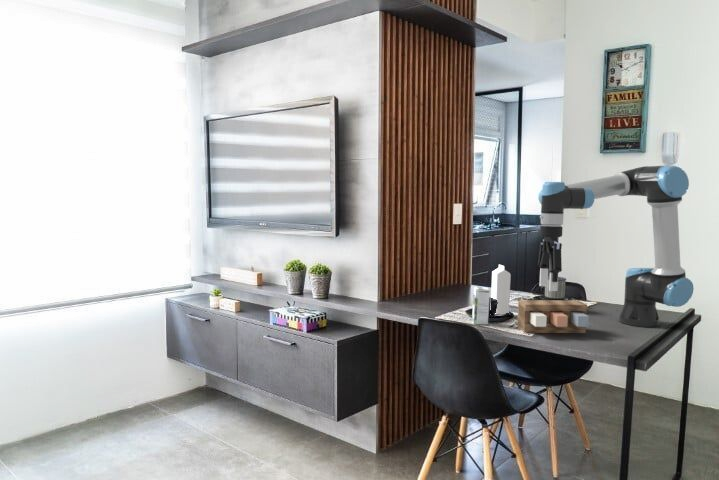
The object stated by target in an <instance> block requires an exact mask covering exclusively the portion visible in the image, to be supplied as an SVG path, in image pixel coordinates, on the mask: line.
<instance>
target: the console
mask: <svg viewBox="0 0 719 480" xmlns="http://www.w3.org/2000/svg"><path fill="white" fill-rule="evenodd" d="M529 311H539V312H541V313H542V314H544V315H546V316H547V320H546V327H535V326H534V325H533V324H531V323H530V322H529ZM550 311H560V312H561V313H563V314H565V315H567V316H568V322H567V327H556V326H555V325H553V324H552V323H550V322H549V315H550ZM570 311H580V312H582V313H584V314H585V315H587V316H588V304H586V303H585V302H582V301H581V300H576V299H574V300H570V299H569V300H567V299H566V300H565V299H564V300H545V299H541V300H540V299H538V300H537V299H535V300H527V299H518V302H517V321H516V322H517V323H516V324H517V325H516V326H517V327H518V328H517V327H516V328H517V329H518V330H520V329H521V330H522V331H523V333H524V334H526V333H525V332H534V333H533V334H586V332H587V331H586V330H587V329H586V328H587V327H577V326H576V325H574V324H572V323H570ZM521 330H520V331H521ZM522 331H521V332H522Z"/></svg>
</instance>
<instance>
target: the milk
mask: <svg viewBox="0 0 719 480" xmlns="http://www.w3.org/2000/svg"><path fill="white" fill-rule="evenodd" d="M511 276H512V275H511V273H510V272H509V271H507V270H506V269H505V265H502V264H498V267H497V268H496V269H494V270H492V271H491V287H490V289H491V290H490V299H491V298H493V299H496V300H497V302H498V304H497V309H496V313H495V314H506V313H509V314H510V301H511V300H510V299H511V298H510V295H511Z"/></svg>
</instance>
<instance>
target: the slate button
mask: <svg viewBox="0 0 719 480" xmlns="http://www.w3.org/2000/svg"><path fill="white" fill-rule="evenodd" d="M589 319H590V316H589V315H588V314H587V315H585V314H584V313H582V312H580V311H570V323H572V324H574V325H576V326H577V327H586V328H588V327H589Z"/></svg>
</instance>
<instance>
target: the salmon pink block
mask: <svg viewBox="0 0 719 480" xmlns="http://www.w3.org/2000/svg"><path fill="white" fill-rule="evenodd" d="M549 322H550V323H552V324H553V325H555V326H556V327H567V322H568V316H567V315H565V314H563V313H561V312H560V311H550V315H549Z"/></svg>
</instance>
